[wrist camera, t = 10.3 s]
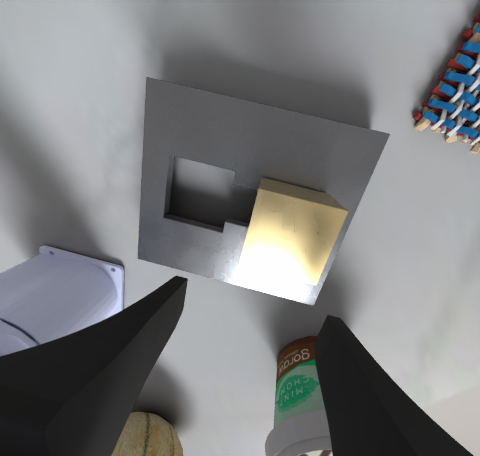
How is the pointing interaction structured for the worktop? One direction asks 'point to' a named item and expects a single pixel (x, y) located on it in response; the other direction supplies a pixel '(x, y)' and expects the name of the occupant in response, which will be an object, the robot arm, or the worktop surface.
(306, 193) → the brass peg
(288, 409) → the food container
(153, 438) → the cantaloupe
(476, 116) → the woven mat
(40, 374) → the robot arm
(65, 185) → the worktop surface
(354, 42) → the worktop surface
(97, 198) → the worktop surface
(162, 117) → the keyhole plate
